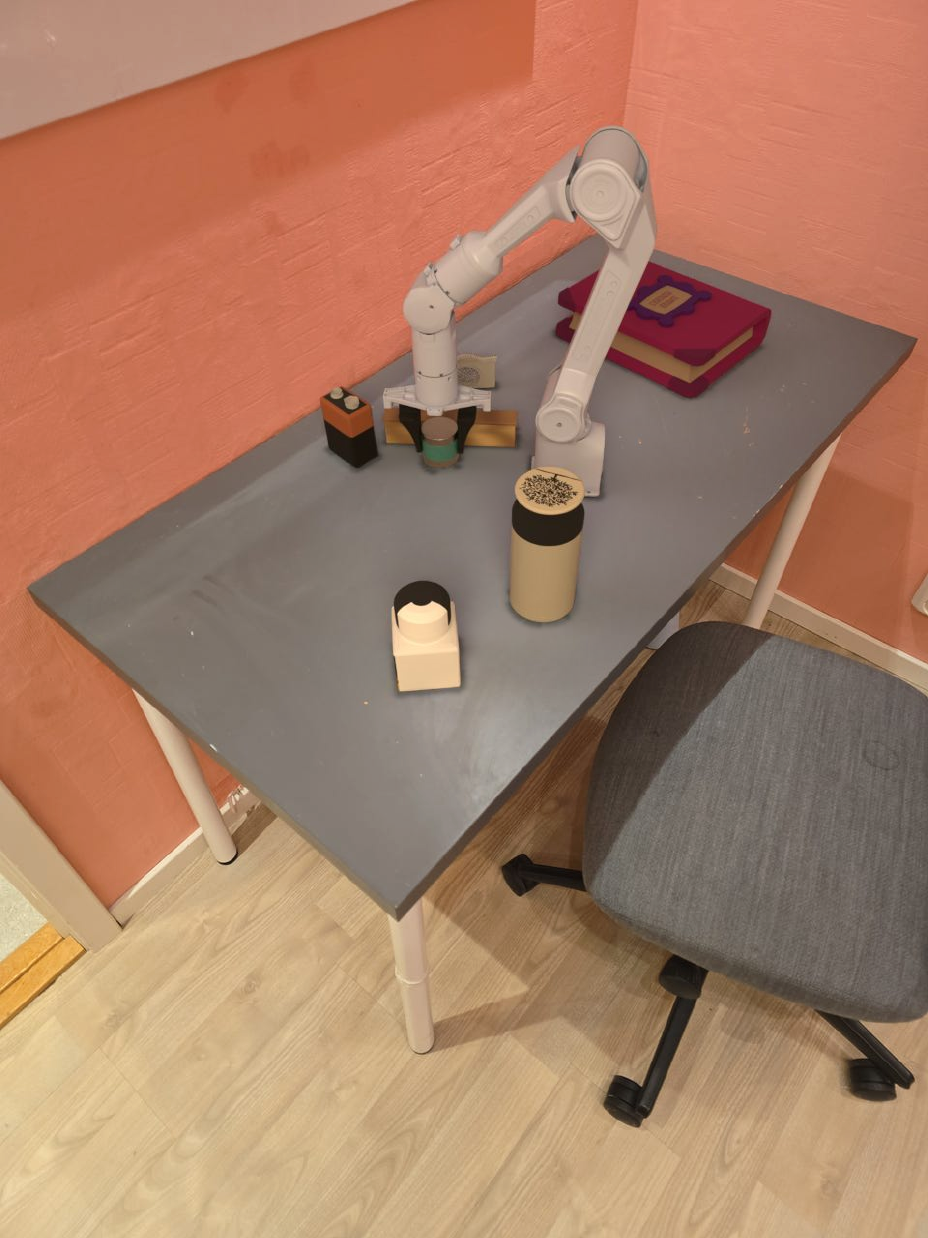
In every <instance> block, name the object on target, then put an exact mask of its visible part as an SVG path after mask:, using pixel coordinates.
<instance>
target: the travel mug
mask: <svg viewBox="0 0 928 1238" xmlns="http://www.w3.org/2000/svg"><path fill="white" fill-rule="evenodd" d="M584 494H585V489H584V485H583V483H582V481H581V480H580V479H579V478H578V477H577V476H576V475H575V474H573V473H572V472H570V471H568V470H565V469H562V468H558V467H539V468H535V469H532V470H531V469H530V470H528V471H526V472H524V473H523V474H522V475H521V476H520V477H519V478H518V479H517V481H516V483H515V486H514V495H515V497H516V498H515V500H514V502H513V504H512V508H511V531H510V532H511V533H510V535H511V536H510V537H511V538H510V539H511V540H510V567H509V568H510V570H509V571H510V573H509V575H510V576H509V602H510V604H511V607H512V609H513V610H514V611H515V612H516V613H517V614H518V615H519V616H521V617H522V618H524V619H526V620H528V621H532V622H537V623H550V622H554V621H558V620H561V619H562V618H564V617H565V616H566V615H569V613H570V612H571V610H572V609H573V607H574V605H575V600H576V590H577V581H578V573H579V565H580V556H581V548H582V538H583V530H584V523H585V522H584V521H585V508H584V505H583V503H582V501H583V500H584V498H585V496H584Z"/></svg>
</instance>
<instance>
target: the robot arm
mask: <svg viewBox="0 0 928 1238" xmlns="http://www.w3.org/2000/svg"><path fill="white" fill-rule="evenodd" d="M581 145H582V144H581V143H580V144H578V145H576V146H575V147H573V148H572V149H571V150H569V151H568V152H567V153H566V154H565V155H564V156H562V158H560V159H559V160H558V161H557V162H556V163H555V164H554V165H552V167H551V168H550V169H548V170H547V171H546V172H545V173H544V174H543V176H541V177H540V178H539V179H538V180H537V181H536V182H535V183H534V184H533V185H532V186H531V187H530V188H529V189H528V190H527V191H526V192H525V193H524V194H522V196H521V197H520V198H519V199H518V200H517V201H516V202H515V203H514V204H513V205H512V206H511V207H510V208H509V209H508V210H507V211H506V212H505V213H504V214H503V215H502V216H501V217H500V218H499V219H498V220H497V221H496V222H495V223H493V225H492V226H490V228H489V229H488V230H476V229H473V230H469V232H466V234H465V235H462V234H461V233H457V234H456V235H455V236H454V237H453V238H452V239H451V241H450V243H449V248H450V249H448V250H447V251H446V252H445V253H444V254H443V255H442V256H441V257H440V258H439V259H438V260H437V261H435V263H433V262H431V261H429V262H428V263H427V265H425V266H424V268H423V270H422V271H420V272H419V274H417V276H416V278H415V279H414V282H413V283H412V285H411V287H410V289H409V291H408V293H407V294H406V296H405V298H404V301H403V305H402V312H403V316H404V318H405V320H406V322H407V323H408V325H409V326H410V329H411V331H410V333H411V334H410V335H411V336H410V337H411V338H410V339H411V350H412V364H413V374H414V375H413V376H414V384H410V385H405V386H404V385H403V386H398V387H385V388H384V389H383V394H382V404H383V409H385V408H386V409H391V408H392V407H398V408H399V420H400V423H402V425H403V426H404V427H405V428H406V429H407V431H408V432H409V434H410V435H411V437H412V439H413V441H414V446H415V450H416V452H417V453H423V452H422V440H421V426H422V425H421V410H425V411H427V415H429V416H441V415H442V414H443V412H444V411H449V410H454V409H458V416H457V426H458V454H459V455H463V454H464V450H465V445H464V443H465V440H466V437H467V435H468V433H469V431H470V429H471V428H472V426H473V425H474V422H475V420H476V412H477V410H478V409H482V410H483V411H491V410H492V404H493V400H492V399H493V398H492V396H493V392H492V390H484V389H483V390H482V389H479V388H470V387H466V386H462V385H458V379H459V378H458V376H459V373H458V372H459V370H458V364H457V355H458V342H457V341H458V340H457V339H458V337H457V328H456V311H455V309H458V308H461V307H463V306H464V305H466V304H467V302H469V301H470V300H471V299H473V298H474V297H475V296H476V295H477V294H478V293H480V292H481V291H482V290H483V289H484V288H486V287H487V286H488V285H489V284H490V283H491V282H493V281H494V280H495V279H496V278H497V277H498V276H500V275H501V274H502V272H503V269H504V257H505V256H506V255H508V253H510V252H511V251H513V250H514V249H515V248H517V247H518V246H519V245H521V244H522V243H523V242H524V241H526V240H527V239H528V238H530V236H532V235H534V233H536V232H537V231H538V230H540V229H541V228H542V227H543V226H545V225H546V224H547V223H549V222H550V221H551V220H554V219H555V220H559V221H563V222H566V223H569V224H576V221H577V219H578V216H579V217H580V219H581V220H582V221H584V222H585V223H586V224H587V225H588V226H589V227H590V228H591V229H593V231H595V232H596V233H597V234H599V235H600V237H601V238H602V239H603V241H604V242H605V244H606V246H607V247H608V248H607V251H606V252H605V253H606V254H605V256H604V258H603V261H602V264H601V266H600V268H599V269H600V271H599V273H598V275H597V278H596V280H595V283H594V285H593V288H592V290H591V293H590V295H589V298H588V300H587V303H586V305H585V308H584V310H583V313H582V315H581V318H580V320H579V323H578V325H577V328H576V330H575V333H574V335H573V338H572V340H571V343H569V345H568V347H567V350H566V351H565V353H564V355H563V357H562V359H561V361H560V363H558V365H556V366H555V367H554V368H552V370H551V371H550V372H549V373H548V375H547V378H546V384H545V385H546V386H545V389H544V391H543V396H542V398H541V402H540V406H539V408H538V410H537V413H536V415H535V419H534V420H535V421H534V424H535V441H534V442H535V444H534V445H535V446H534V455H532V456H531V464H530V466H531V467H530V470H532V469H535V468H539V467H558V468H562V469H565V470H568V471H570V472H572V473H573V474H575V475H576V476H577V477H578V478H579V479H580V480H581V481H582V483H583V485H584V489H585V494H584V497H591V498H593V497H594V498H596V497H599V496H600V494H601V493H600V488H601V480H602V474H603V472H604V457H605V447H606V446H605V445H606V424H605V423H603V422H597V421H595V420H592V419H591V418H590V414H589V412H588V410H589V406H590V402H591V397H592V395H593V392H594V389H595V383H596V379H597V377H598V375H599V372H600V370H601V368H602V366H603V364H604V361H605V359H606V358H605V357H606V355H607V352H608V350H609V348H610V346H611V343H612V341H613V339H614V337H615V335H616V332H617V330H618V328H619V326H620V323H621V321H622V319H623V317H624V314H625V312H626V310H627V308H628V306H629V303H630V301H631V299H632V297H633V294H634V292H635V290H636V288H637V285H638V283H639V281H640V279H641V277H642V274H643V272H644V270H645V268H646V265H647V263H648V261H650V258H651V256H652V254H653V252H654V250H655V245H656V241H657V237H658V231H659V230H658V229H659V228H658V222H657V221H658V220H657V214H656V208H655V202H654V196H653V191H652V184H651V183H652V182H651V170H650V160H649V158H648V156H647V154H646V152H645V150H644V149H643V147H642V146H641V144H640V142H639V141H638V139H637V137H636V135H634V134H633V132H631V131H630V130H628V129H627V128H625V127H623V126H620V125H605V126H602V127H600V128H598V129H597V130H595V131H594V132H593V133H591V134H590V136H589V137H588V138H587V139H586V141H585V143H584V144H583V148H582V152H581V155H578V154H579V151H580V148H581Z"/></svg>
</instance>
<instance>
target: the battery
mask: <svg viewBox="0 0 928 1238" xmlns="http://www.w3.org/2000/svg"><path fill="white" fill-rule="evenodd" d="M319 404H320V409H321V410H320V411H321V415H322V420H323V425H324V426H323V427H324V430H325V431H324V432H325V436H326V441H327V447H328V449H329V450H330V451H331V452H332V453H334V454H335V455H337V456H338V457H339V458H341V459H342V460H343V461H345V462H346V463H348V464H349V465H350V466H352V467H353V468H355V469H359V468H360V467H362V466H363V465H365V464H367V463H368V462H371V461H372V460H374V459H375V458H377V457H378V454H379V453H378V445H377V438H376V437H377V436H376V429H375V424H374V416H373V408H372V404H370V402H367V401H366V400H365V399H363V398H362V397H359V396H358V395H357V394H356V393H354V392H353V391H351V390H350V389H348V388H346V387H345V386H342V385H341V386H339V387H333V388H332V389H330V391H329V392H328V393H326V394H324V395H322V396H321V397H320V398H319Z"/></svg>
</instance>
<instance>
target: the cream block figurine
mask: <svg viewBox="0 0 928 1238" xmlns="http://www.w3.org/2000/svg"><path fill="white" fill-rule="evenodd" d="M393 598H394V599H393V606H392V607H391V609H390V611H391V613H390V614H391V635H392V636H391V637H392V638H391V639H392V657H393V662H394V663H393V664H394V670H395V671H394V672H395V678H396V684H397V690H398V691H399V692H413V691H425V690H427V691H428V690H436V689H437V690H438V689H450V688H451V689H452V688H459V687H460V686H461V684H462V683H461V682H462V679H461V678H462V677H461V659H460V644H459V643H460V642H459V634H458V633H459V631H458V623H457V614H456V604H455V602H454V601H452V600H451V595H450V594H449V592H448V590H447V589H446V588H445V587H443V585H441V584H438V583H437V582H434V581H431V580H415V581H411V582H409V583H407V584H406V585H404V586H403V587H401V588H400V589H399V590H398V591H397V593H396V594H395V597H393Z"/></svg>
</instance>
